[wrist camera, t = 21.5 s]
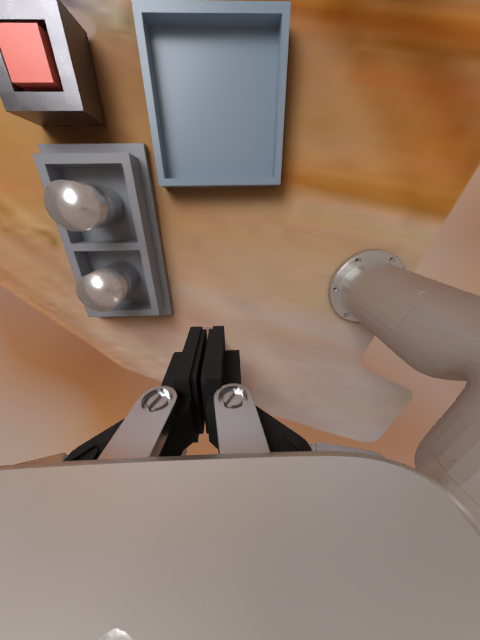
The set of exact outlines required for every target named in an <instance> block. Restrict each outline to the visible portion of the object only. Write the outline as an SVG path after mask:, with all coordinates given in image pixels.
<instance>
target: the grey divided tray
mask: <svg viewBox="0 0 480 640" xmlns="http://www.w3.org/2000/svg"><path fill="white" fill-rule="evenodd" d="M38 146H39V149H40V152H41V154H33V157H34V160H35V163H36V166H37V169H38V172H39V175H40V177H41V180H42V183H43V186H44V189H46V187H47V186H48V184H49V183H51V182H52V181H55V180H69V181H76V182H83V183H90V184H97V185H104V186H108V187H110V188H112V189H113V190H115V191H116V192H117V193H118V194H119V196H120V197H121V199H122V201H123V203H124V207H125V214H124V217H123V219H122V221H121V222H120V223H118V224H116V225H112V226H106V227H101V228H95V229H90V230H84V231H78V232H75V231H70V230H67V229H65V228H63V227H61V226H60V225H58V224H57V223H56V224H57V227H58V230H59V232H60V235H61V238H62V241H63V244H64V247H65V250H66V253H67V256H68V259H69V261H70V264H71V267H72V270H73V273H74V276H75V279H76V282H77V283H78V281H79V280H80V279H81V278H82V277H83V276H85V275H88V274H90V273H92V272H94V271H96V270H98V269H100V268H102V267H105V266H107V265H109V264H111V263H113V262H115V261H125V262H128V263H130V264H131V265H133V266H134V267H135V268H136V269H137V271H138V273H139V276H140V283H139V285H138V287H137V288H136V289H135V290H134V291H133V292H131V293H130V294H129V295H128V296H127V297H126V298H124V299H123V300H122V301H121V302H120V303H119V304H117V305H116V306H115V307H114V308H113V309H111V310H109V311H106V312H98V311H94V310H92V309H90V308H88V307H87V306H85V308H86V311H87V314H88V316H89V317H131V316H167V315H172V314H173V311H172V305H171V298H170V292H169V286H168V280H167V273H166V267H165V261H164V255H163V248H162V242H161V236H160V230H159V223H158V217H157V211H156V205H155V198H154V192H153V186H152V180H151V173H150V167H149V161H148V155H147V148H146V145H145V144H144V143H114V144H38Z"/></svg>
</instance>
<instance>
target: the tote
mask: <svg viewBox="0 0 480 640" xmlns="http://www.w3.org/2000/svg"><path fill="white" fill-rule="evenodd" d="M131 1H132V8H133V14H134V21H135V28H136V34H137V41H138V48H139V55H140V61H141V68H142V75H143V81H144V88H145V95H146V102H147V108H148V115H149V122H150V129H151V135H152V142H153V149H154V155H155V162H156V169H157V176H158V182H159V186H161V187H164V188H181V187H261V186H278V185H280V184H281V166H282V148H283V131H284V113H285V96H286V78H287V61H288V43H289V26H290V8H291V1H198V0H131Z"/></svg>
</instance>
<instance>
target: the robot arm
mask: <svg viewBox="0 0 480 640" xmlns="http://www.w3.org/2000/svg"><path fill="white" fill-rule="evenodd" d="M356 259H357V260H356ZM355 260H356V261H355ZM334 288H335V289H334ZM329 301H330V304H331V306H332V308H333V309H334V311H335V312H336V313H337V314H338V315H339V316H340V317H342V318H344V319H346V320H349V321H353V322H361V323H362V324H363V325H364V326H365V327H366V328H368V329H369V330H370V331H371V332H372V333H373V334H374V335H375V336H377V337H378V338H379V339H380V340H381V341H382V342H383V343H384V344H386V345H387V346H388V347H389V348H390V349H391V350H392V351H393V352H395V353H396V354H397V355H398V356H399V357H400V358H401V359H403V360H404V361H405V362H406V363H407V364H408V365H410V366H411V367H412V368H414V369H415V370H417V371H419V372H420V373H423V374H425V375H428V376H431V377H435V378H440V379H446V380H458V381H459V380H460V381H467V384H466V386H465V388H464V389H463V391H462V392H461V394H460V395H459V396H458V397H457V398H456V401H455V402H454V403H453V404H452V405H451V406H450V408H449V409H448V410H447V411H446V412H445V413H444V415H443V416H442V417H441V418H440V419H439V420H438V421H437V422H436V424H435V425H434V426H433V427H432V428H431V429H430V431H429V432H428V433H427V434H426V436H425V437H424V438H423V440H422V441H421V442H420V443H419V445H418V447H417V450H416V453H415V468H416V469H414V468H412V467H410V466H407V465H405V464H402V463H399V462H396V461H393V460H390V459H387V458H385V457H383V456H382V455H380V454H378V453H375V452H372V451H367V450H362V449H356V448H350V447H344V446H339V445H333V444H327V443H321V442H316V445H314V444H308V443H307V441H306V440H305V439H303V438H302V437H301V436H299V435H298V434H297V433H295V432H294V431H292V430H291V429H289V428H288V427H286V426H285V425H283V424H282V423H280V422H279V421H277V420H276V419H275V418H273V417H272V416H270V415H269V414H267V413H266V412H264V411H263V410H261V409H260V408H258V407H257V406H255V403H254V400H253V397H252V394H251V392H250V390H249V389H248V388H247V387H245V386H243V385H241V372H240V355H239V350H229V351H225V336H224V326H213V329H209V333H208V338H207V331H206V329H202V327H191V328H190V331H189V334H188V337H187V340H186V343H185V346H184V349H183V352H175V353H174V354H173V356H172V359H171V362H170V364H169V367H168V369H167V372H166V374H165V377H164V380H163V382H162V385H161V386H158V387H154V388H151V389H149V390H147V391H146V392H144V393H143V394H142V395H141V396H140V397H139V399H138V400H137V402H136V403H135V405H134V406H133V408H132V409H131V411H130V412H129V413H128V415H127V417H126V418H125V419H123V420H121V421H120V422H118V423H116V424H115V425H114V426H111V427H110V428H108V429H107V430H105V431H103V432H102V433H100V434H98V435H97V436H95V437H93V438H92V439H90V440H89V441H87V442H85V443H84V444H82V445H80V446H79V447H77V448H76V449H75V450H73V451H72V452H71V453H70V454H69V455H66V453H61V454H57V455H52V456H48V457H44V458H40V459H35V460H31V461H27V462H23V463H19V464H15V465H5V466H0V640H480V296H478V295H475V294H472V293H470V292H466V291H463V290H460V289H458V288H455V287H452V286H449V285H447V284H444V283H441V282H438V281H435V280H433V279H430V278H427V277H424V276H422V275H419V274H416V273H413V272H410V271H408V270H405V268H404V265H403V263H402V262H401V260H400V259H399V258H398V257H397V256H395V255H394V254H392V253H390V252H387V251H383V250H367V251H362V252H360V253H358V254H355V255H354V256H352V257H350V258H349V259H347V260H346V261H345V262H344V263H343V264H342V265H341V266H340V267H339V268H338V269H337V271H336V272H335V274H334V275H333V277H332V280H331V282H330V286H329ZM204 424H206V432H207V434H208V433H209V441H210V442H211V443H212V444H213V445H214V446H215V447H216V448H217V449H218V452H219V454H214V455H213V454H212V455H188V456H186V453H187V449H186V448H187V447H188V446H189V445H190V444H192V443H193V442H198V436H199V434H203V432H204Z"/></svg>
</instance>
